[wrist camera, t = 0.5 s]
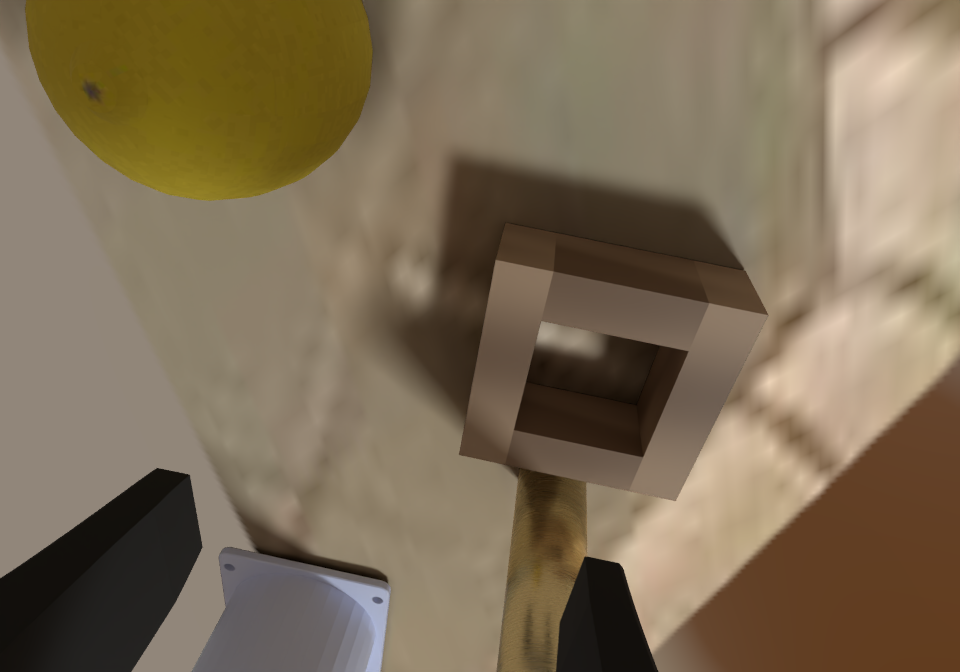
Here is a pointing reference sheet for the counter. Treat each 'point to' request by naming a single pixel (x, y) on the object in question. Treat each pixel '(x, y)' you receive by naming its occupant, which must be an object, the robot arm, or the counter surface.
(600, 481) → the socket block
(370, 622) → the robot arm
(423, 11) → the counter surface
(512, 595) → the brass pin
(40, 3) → the lemon
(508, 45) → the counter surface
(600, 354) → the counter surface
